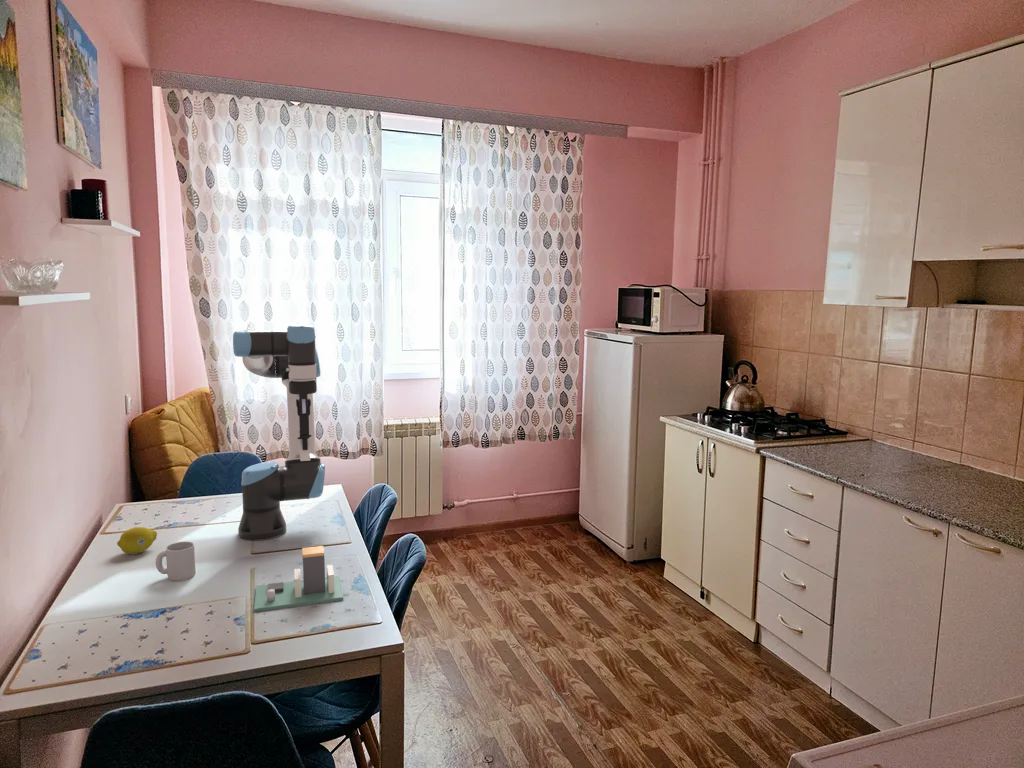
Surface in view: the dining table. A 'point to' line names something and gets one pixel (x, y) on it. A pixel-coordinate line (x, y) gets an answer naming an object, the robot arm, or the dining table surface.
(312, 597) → the board
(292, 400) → the robot arm
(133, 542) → the lemon
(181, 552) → the cup
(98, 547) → the dining table surface
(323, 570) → the plug
